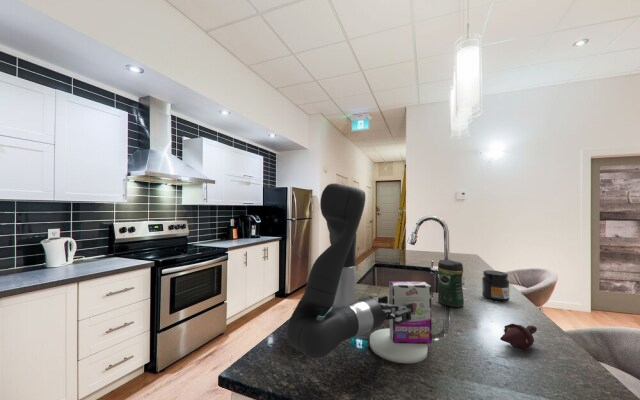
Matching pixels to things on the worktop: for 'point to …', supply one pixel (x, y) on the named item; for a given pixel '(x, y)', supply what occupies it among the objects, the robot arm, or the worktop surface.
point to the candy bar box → (420, 317)
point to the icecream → (519, 336)
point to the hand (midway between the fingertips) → (398, 303)
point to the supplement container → (495, 286)
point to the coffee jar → (450, 283)
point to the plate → (396, 348)
